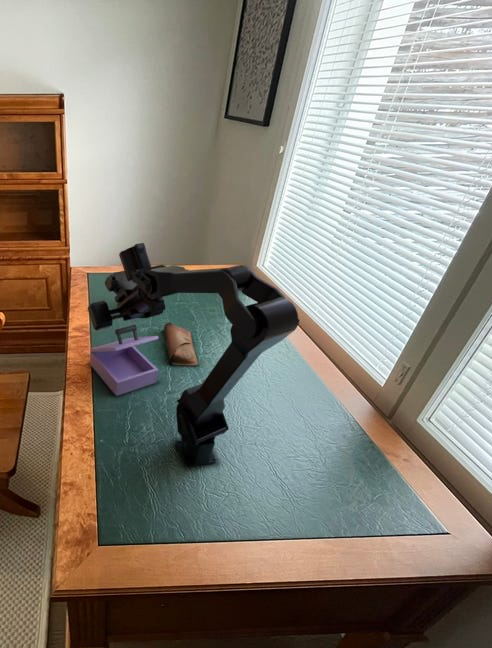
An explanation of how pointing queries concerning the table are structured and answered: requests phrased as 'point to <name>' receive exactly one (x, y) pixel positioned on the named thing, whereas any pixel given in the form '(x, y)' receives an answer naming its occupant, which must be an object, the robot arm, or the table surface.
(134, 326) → the purple square slab
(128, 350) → the box
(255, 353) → the robot arm
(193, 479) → the table surface
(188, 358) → the sunglasses case
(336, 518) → the table surface
